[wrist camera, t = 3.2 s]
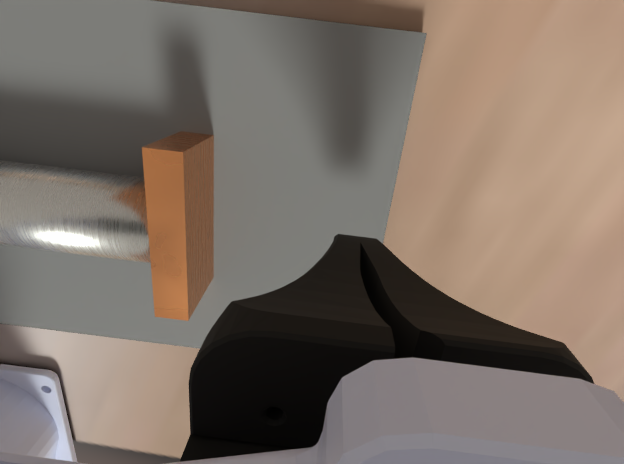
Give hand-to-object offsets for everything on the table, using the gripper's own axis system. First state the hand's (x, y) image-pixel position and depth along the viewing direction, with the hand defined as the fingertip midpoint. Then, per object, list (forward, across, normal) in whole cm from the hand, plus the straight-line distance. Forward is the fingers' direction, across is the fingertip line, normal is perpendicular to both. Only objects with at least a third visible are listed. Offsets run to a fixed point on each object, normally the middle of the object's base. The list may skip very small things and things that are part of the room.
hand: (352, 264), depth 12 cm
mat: (+3, +12, 0) cm, 12 cm away
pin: (+3, +12, 0) cm, 12 cm away
